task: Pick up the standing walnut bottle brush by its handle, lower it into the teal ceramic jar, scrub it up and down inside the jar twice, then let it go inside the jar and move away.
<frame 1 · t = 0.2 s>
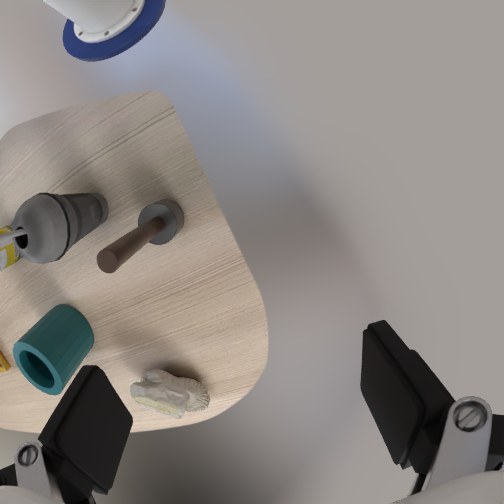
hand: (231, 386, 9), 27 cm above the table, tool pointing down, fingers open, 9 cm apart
jar: (71, 329, 39), on the table
fossil replica: (174, 379, 42), on the table
pill bottle: (13, 243, 34), on the table
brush: (166, 218, 34), on the table
beverage cup: (95, 209, 33), on the table
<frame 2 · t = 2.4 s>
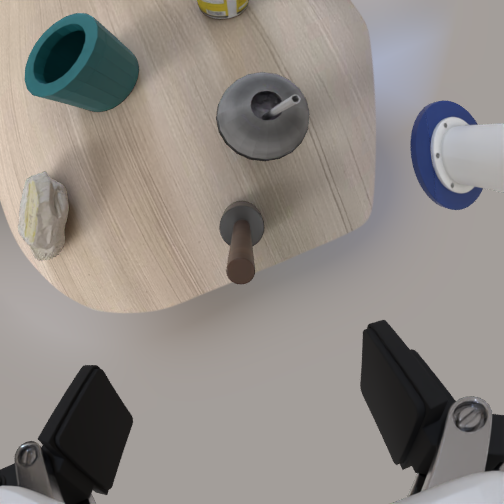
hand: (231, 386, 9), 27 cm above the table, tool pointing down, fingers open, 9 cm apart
jar: (106, 78, 27), on the table
fossil replica: (57, 212, 33), on the table
pill bottle: (223, 4, 25), on the table
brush: (242, 220, 34), on the table
beverage cup: (256, 134, 31), on the table
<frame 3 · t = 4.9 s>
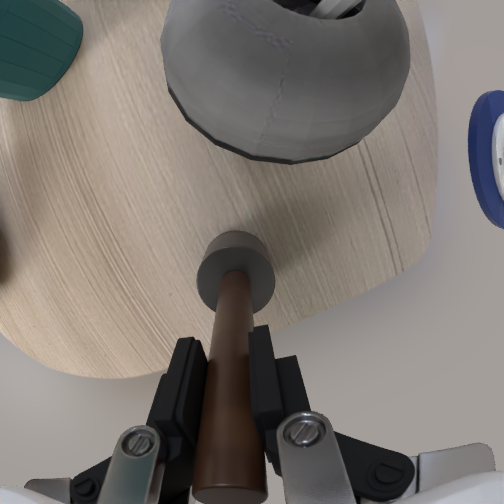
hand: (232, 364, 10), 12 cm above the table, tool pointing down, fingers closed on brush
jar: (42, 54, 14), on the table
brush: (236, 262, 21), on the table, touching gripper
beverage cup: (259, 117, 18), on the table
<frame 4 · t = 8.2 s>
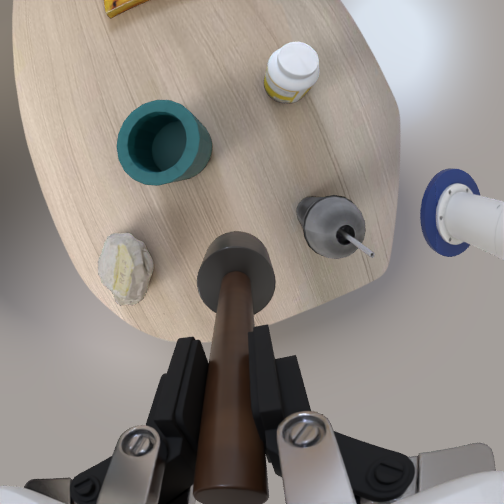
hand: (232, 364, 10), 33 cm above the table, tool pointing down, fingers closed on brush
jar: (180, 148, 38), on the table
fossil replica: (133, 262, 43), on the table
pill bottle: (284, 85, 36), on the table
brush: (237, 262, 21), point 22 cm above the table, touching gripper
beverage cup: (310, 211, 42), on the table
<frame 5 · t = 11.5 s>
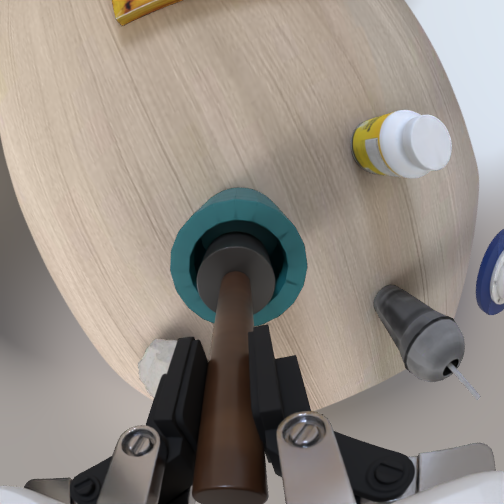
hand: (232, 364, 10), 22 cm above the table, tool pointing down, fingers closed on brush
jar: (239, 231, 31), on the table
fossil replica: (179, 359, 36), on the table
pill bottle: (372, 147, 29), on the table
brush: (236, 262, 21), point 11 cm above the table, touching gripper
beverage cup: (387, 299, 34), on the table
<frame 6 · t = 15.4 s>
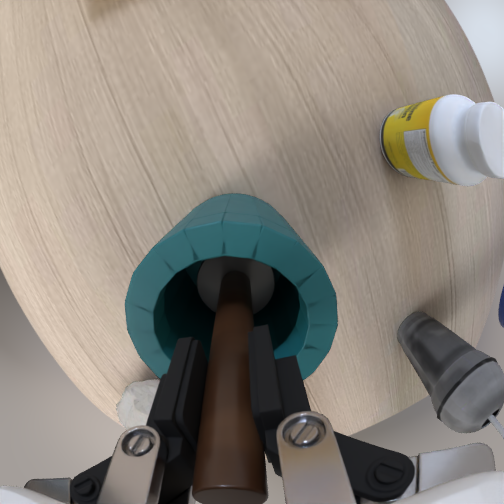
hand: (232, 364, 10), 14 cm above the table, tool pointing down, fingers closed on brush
jar: (234, 251, 23), on the table
fossil replica: (165, 397, 28), on the table
pill bottle: (404, 142, 21), on the table
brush: (236, 262, 21), point 3 cm above the table, touching gripper
beverage cup: (412, 327, 27), on the table
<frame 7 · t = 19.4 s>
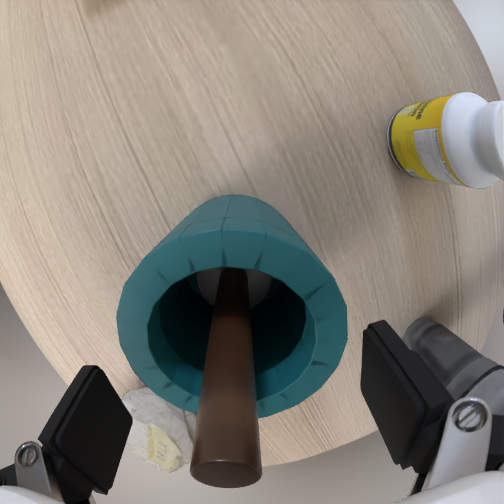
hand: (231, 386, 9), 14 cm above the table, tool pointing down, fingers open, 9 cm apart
jar: (235, 255, 22), on the table
fossil replica: (164, 405, 27), on the table
pill bottle: (412, 142, 20), on the table
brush: (234, 259, 21), point 1 cm above the table, touching jar
beverage cup: (418, 333, 26), on the table
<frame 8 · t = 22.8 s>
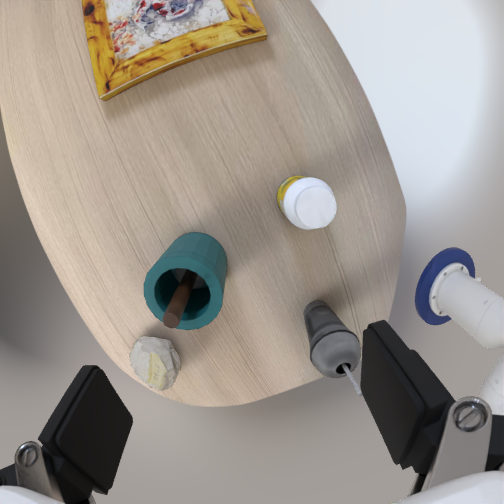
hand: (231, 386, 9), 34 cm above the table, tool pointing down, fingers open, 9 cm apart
jar: (196, 262, 43), on the table
fossil replica: (160, 351, 48), on the table
picture frame: (161, 3, 30), on the table
pill bottle: (296, 196, 41), on the table
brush: (195, 264, 42), point 1 cm above the table, touching jar
beverage cup: (316, 311, 47), on the table
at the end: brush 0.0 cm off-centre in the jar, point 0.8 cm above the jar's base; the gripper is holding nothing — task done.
